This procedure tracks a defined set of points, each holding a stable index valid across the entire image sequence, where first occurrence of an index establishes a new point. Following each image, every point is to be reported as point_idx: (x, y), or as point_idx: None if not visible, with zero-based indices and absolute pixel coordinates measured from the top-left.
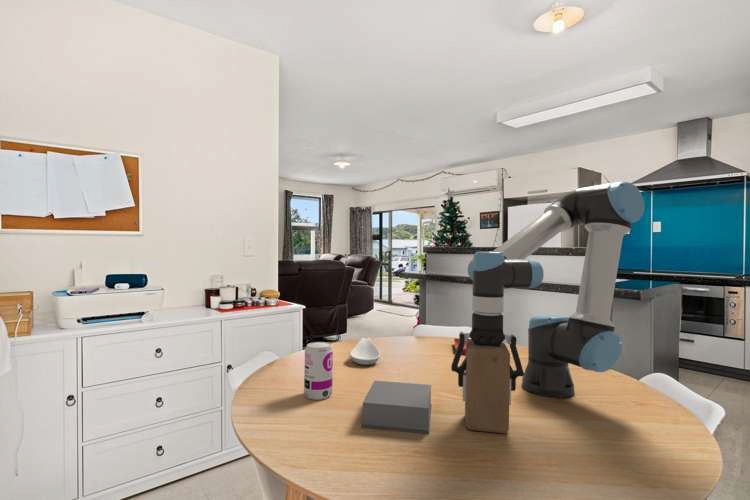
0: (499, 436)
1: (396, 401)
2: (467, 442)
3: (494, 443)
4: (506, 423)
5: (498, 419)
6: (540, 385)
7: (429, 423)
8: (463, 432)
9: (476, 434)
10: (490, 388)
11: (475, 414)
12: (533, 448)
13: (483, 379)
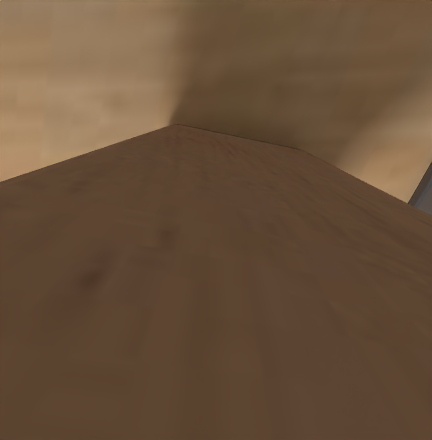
0: (202, 113)
1: None
2: (340, 54)
3: (237, 50)
4: (166, 127)
5: (198, 133)
6: None
7: (427, 186)
8: (321, 140)
9: (280, 126)
10: (251, 175)
11: (298, 154)
12: (93, 10)
13: (358, 223)
